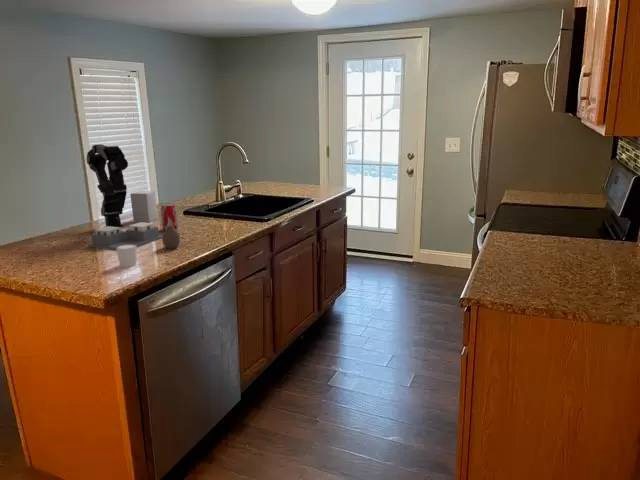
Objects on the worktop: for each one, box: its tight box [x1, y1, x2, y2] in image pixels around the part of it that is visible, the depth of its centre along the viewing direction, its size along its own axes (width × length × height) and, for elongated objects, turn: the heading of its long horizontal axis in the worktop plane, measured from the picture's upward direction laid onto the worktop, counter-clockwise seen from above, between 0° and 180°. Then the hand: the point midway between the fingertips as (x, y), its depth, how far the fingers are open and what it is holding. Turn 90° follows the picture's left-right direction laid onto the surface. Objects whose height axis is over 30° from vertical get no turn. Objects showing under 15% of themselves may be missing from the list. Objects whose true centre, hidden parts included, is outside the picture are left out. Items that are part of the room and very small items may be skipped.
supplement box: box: [129, 190, 158, 223], centre depth 250 cm, size 9×9×15 cm
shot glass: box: [116, 245, 138, 268], centre depth 179 cm, size 7×7×7 cm
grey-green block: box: [94, 226, 122, 236], centre depth 207 cm, size 7×7×6 cm
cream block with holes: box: [128, 222, 155, 231], centre depth 214 cm, size 7×7×6 cm
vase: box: [161, 226, 181, 250], centre depth 201 cm, size 7×7×9 cm
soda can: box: [160, 202, 179, 231], centre depth 232 cm, size 7×7×12 cm
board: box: [87, 226, 163, 251], centre depth 211 cm, size 20×23×5 cm
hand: (122, 208), depth 222 cm, fingers closed
